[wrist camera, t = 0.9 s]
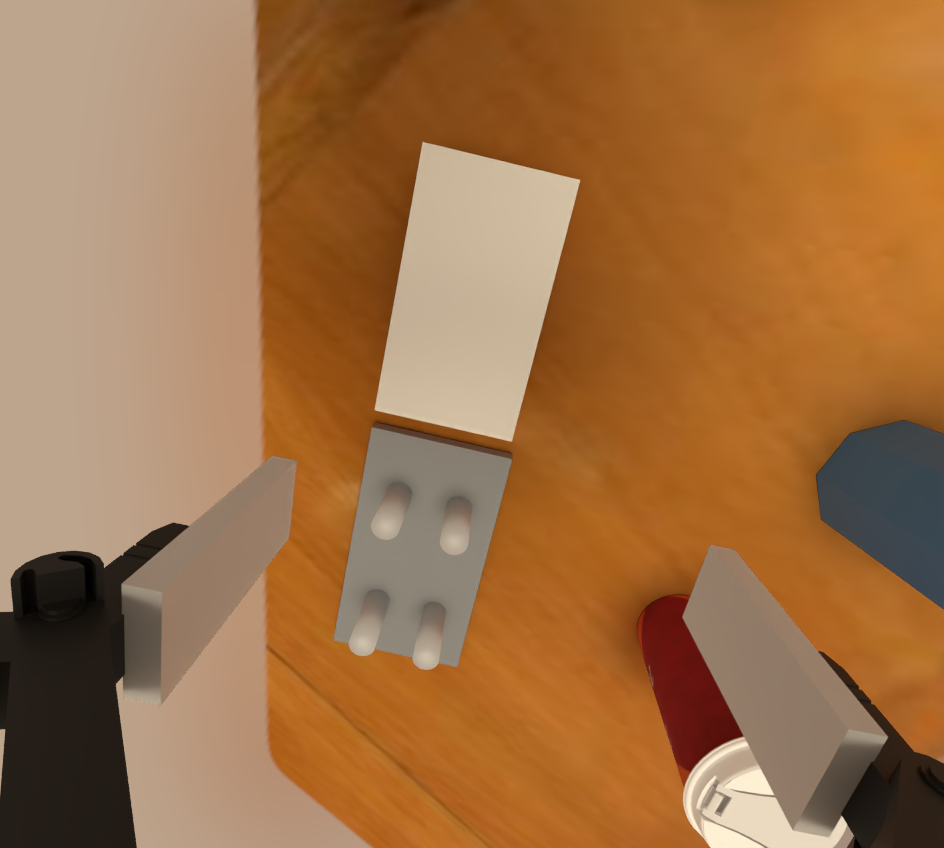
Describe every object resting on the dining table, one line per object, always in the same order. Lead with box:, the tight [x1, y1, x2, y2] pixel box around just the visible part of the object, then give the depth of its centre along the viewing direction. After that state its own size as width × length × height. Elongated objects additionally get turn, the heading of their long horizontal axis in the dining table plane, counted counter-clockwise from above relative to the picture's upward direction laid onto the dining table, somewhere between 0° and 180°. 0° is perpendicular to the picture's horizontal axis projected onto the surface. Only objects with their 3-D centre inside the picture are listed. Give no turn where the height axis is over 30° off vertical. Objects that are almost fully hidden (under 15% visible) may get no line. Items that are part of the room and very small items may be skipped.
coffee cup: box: [637, 595, 847, 848], centre depth 33 cm, size 8×8×15 cm
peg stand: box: [334, 422, 512, 670], centre depth 36 cm, size 18×10×6 cm, turn 167°
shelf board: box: [375, 142, 580, 442], centre depth 29 cm, size 14×8×3 cm, turn 167°
